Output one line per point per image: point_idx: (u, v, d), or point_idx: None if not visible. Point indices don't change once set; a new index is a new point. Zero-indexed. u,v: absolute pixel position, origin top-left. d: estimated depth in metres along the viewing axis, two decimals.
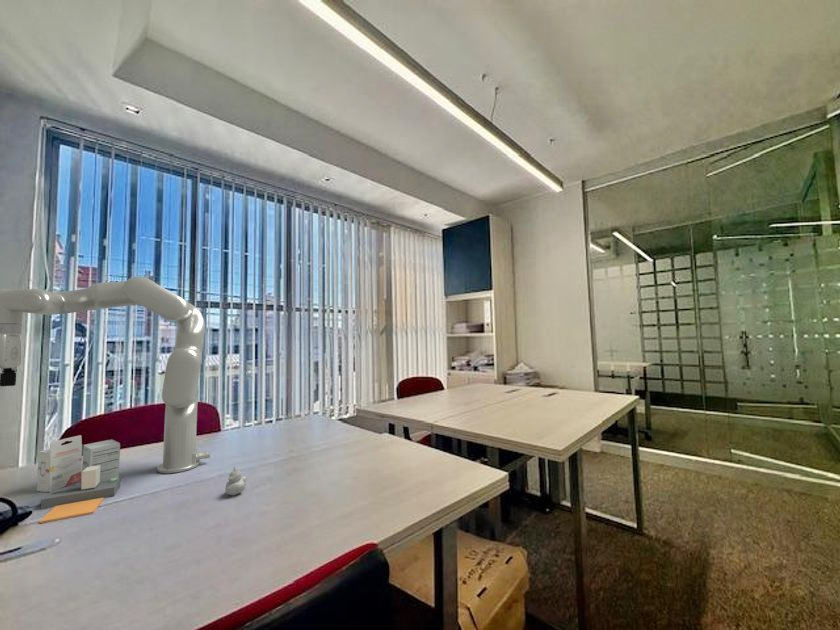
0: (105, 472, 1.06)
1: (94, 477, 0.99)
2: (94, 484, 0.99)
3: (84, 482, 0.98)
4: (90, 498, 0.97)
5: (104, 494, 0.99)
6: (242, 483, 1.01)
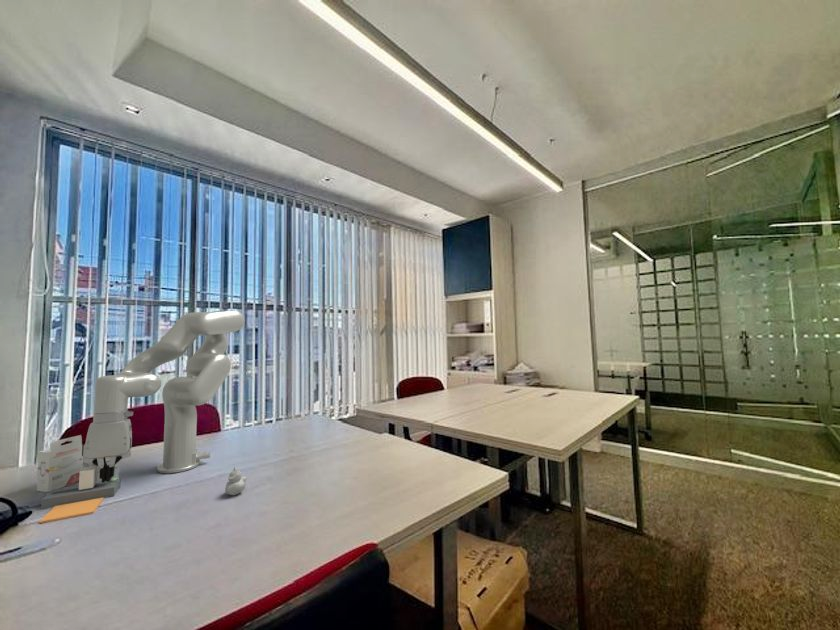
0: None
1: (91, 477, 0.99)
2: (91, 484, 0.99)
3: (81, 482, 0.98)
4: (90, 498, 0.97)
5: (104, 494, 0.99)
6: (242, 483, 1.01)
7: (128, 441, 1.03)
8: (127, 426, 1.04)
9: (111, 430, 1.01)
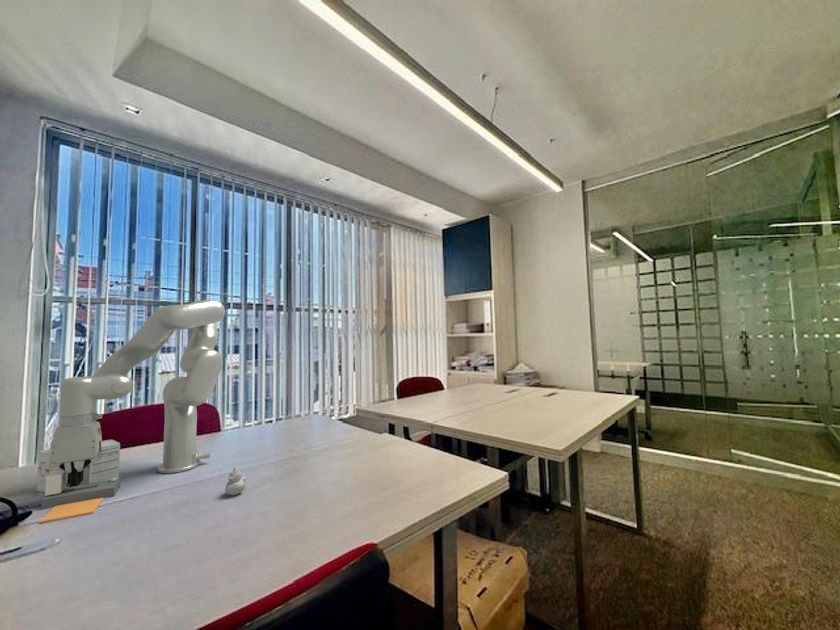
0: (105, 472, 1.06)
1: (59, 482, 0.96)
2: (59, 490, 0.95)
3: (48, 488, 0.94)
4: (90, 498, 0.97)
5: (104, 494, 0.99)
6: (242, 483, 1.01)
7: (97, 444, 1.00)
8: (96, 429, 1.00)
9: (78, 434, 0.97)
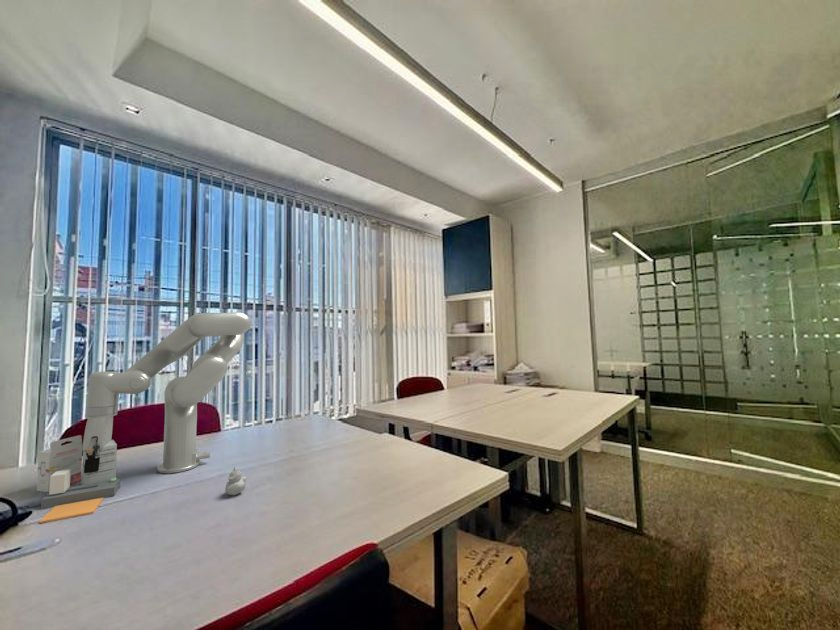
0: (101, 473, 1.05)
1: (63, 482, 0.96)
2: (63, 489, 0.96)
3: (52, 487, 0.95)
4: (90, 498, 0.97)
5: (104, 494, 0.99)
6: (242, 483, 1.01)
7: None
8: None
9: (112, 420, 1.11)
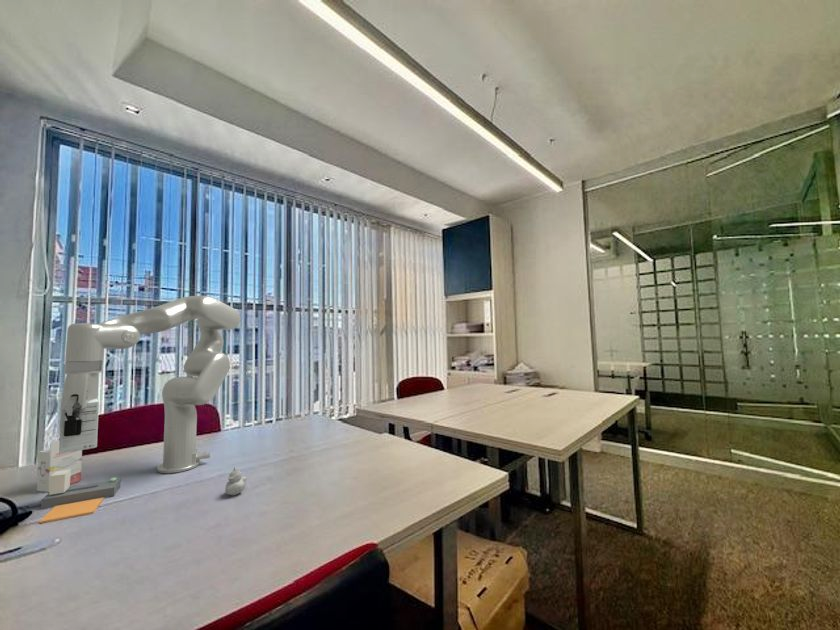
0: None
1: (63, 482, 0.96)
2: (63, 489, 0.96)
3: (52, 487, 0.95)
4: (90, 498, 0.97)
5: (104, 494, 0.99)
6: (242, 483, 1.01)
7: None
8: None
9: (96, 379, 0.97)
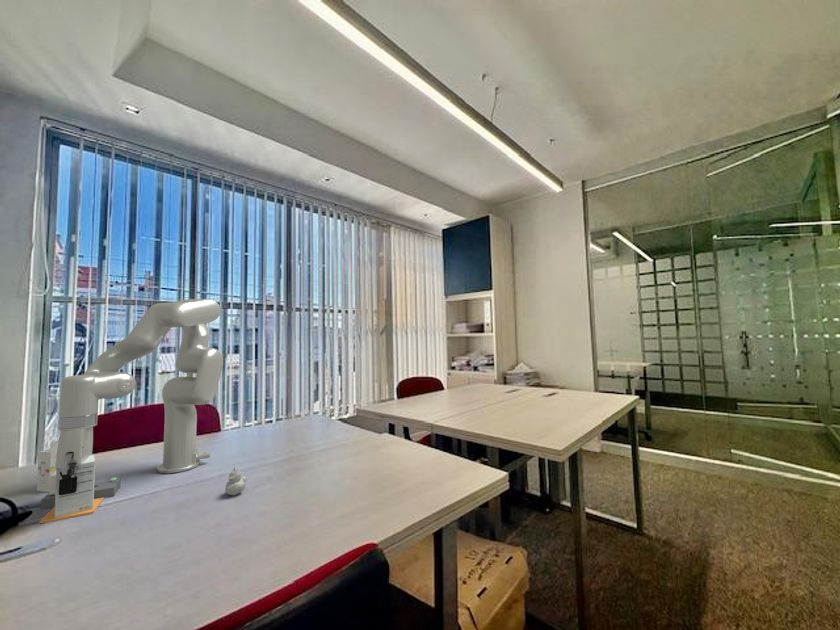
0: (76, 495, 0.90)
1: None
2: None
3: (52, 487, 0.95)
4: None
5: (104, 494, 0.99)
6: (242, 483, 1.01)
7: None
8: None
9: (91, 432, 0.95)
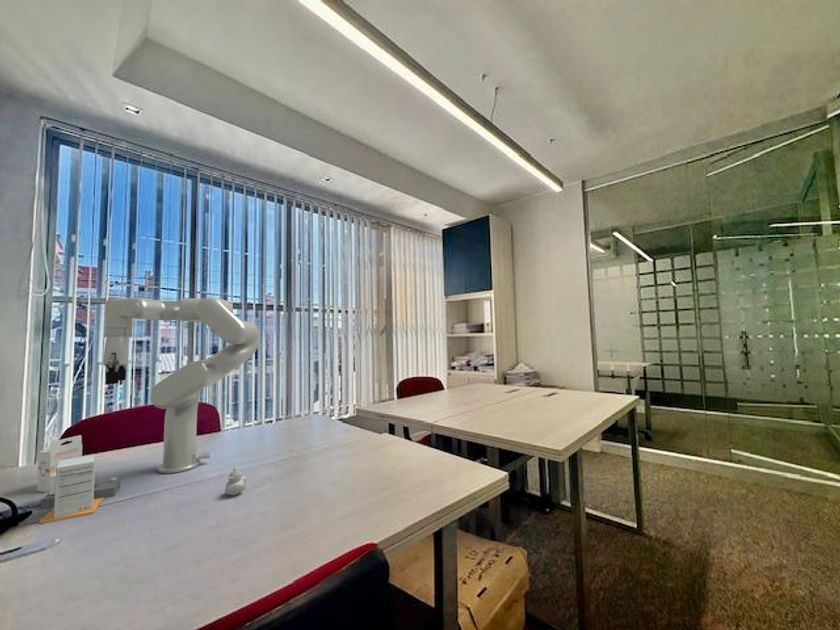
0: (75, 496, 0.89)
1: None
2: None
3: (52, 487, 0.95)
4: None
5: (104, 494, 0.99)
6: (242, 483, 1.01)
7: None
8: None
9: (127, 342, 1.24)
